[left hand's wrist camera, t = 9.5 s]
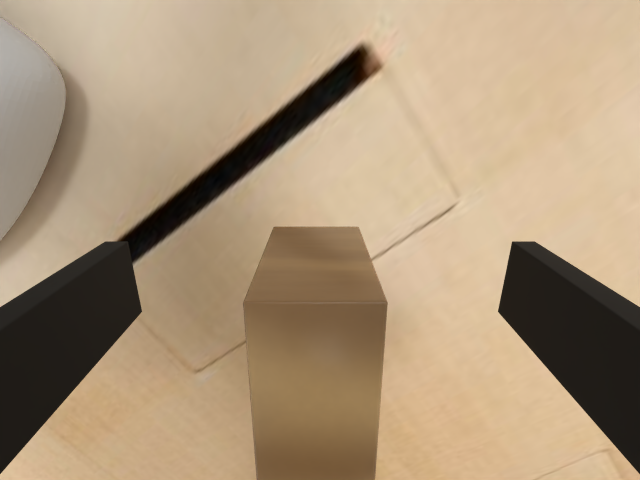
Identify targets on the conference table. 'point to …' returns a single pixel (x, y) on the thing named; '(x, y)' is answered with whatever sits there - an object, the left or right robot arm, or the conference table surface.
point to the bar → (315, 355)
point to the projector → (25, 118)
